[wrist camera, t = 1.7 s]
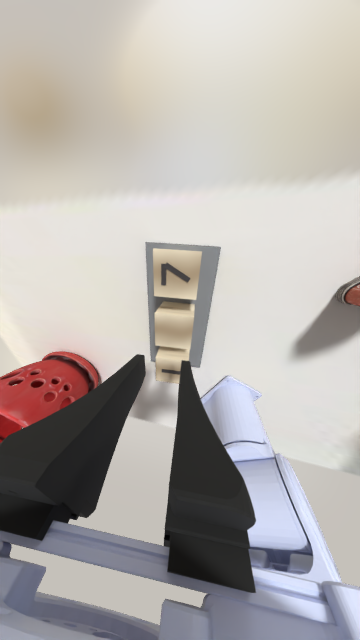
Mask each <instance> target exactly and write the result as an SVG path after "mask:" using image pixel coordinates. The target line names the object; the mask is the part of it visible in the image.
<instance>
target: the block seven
mask: <svg viewBox="0 0 360 640" xmlns="http://www.w3.org/2000/svg"><path fill="white" fill-rule="evenodd" d="M201 256H202V251H187V250H172V249H157V248H153V273H154V296H159V297H169V298H180V299H191V300H196V298H197V289H198V281H199V273H200V265H201Z"/></svg>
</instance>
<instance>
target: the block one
mask: <svg viewBox="0 0 360 640" xmlns="http://www.w3.org/2000/svg"><path fill="white" fill-rule="evenodd" d="M189 351H190V350H189V349H181V348H172V347H164V346H160V348H159V350H158V353H157V355H156V381H163V382H170V383H177V384H179V380H180V369H181V362H182V360H185V361H189Z"/></svg>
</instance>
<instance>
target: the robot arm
mask: <svg viewBox="0 0 360 640" xmlns="http://www.w3.org/2000/svg"><path fill="white" fill-rule="evenodd" d="M145 374H146V372H145V358H144V355H138V354H137V355H136V356H134V357H133V358H132V359H131V360H130V361H129V362H128V363H127V364H125V365H124V366H123V367H122V368H121V369H119V370H118V371H117V372H116V373H115V374H113V375H112V376H111V377H110V378H108V379H107V380H106V381H104V382H103V383H102V384H100V385H99V386H98V387H96V388H95V389H93V390H92V391H90V392H89V393H87V394H86V395H84V396H82V397H81V398H79V399H78V400H76V401H74V402H73V403H71V404H69V405H68V406H66V407H64V408H62V409H60V410H59V411H57V412H55V413H53V414H51V415H49V416H47V417H45V418H43V419H41V420H39V421H37V422H35V423H33V424H31V425H29V426H27V427H25V428H23V429H21V430H19V431H17V432H15V433H12V434H10V435H8V436H7V437H6V438H5V439H4V440H3V441H2V442H1V443H0V640H360V587H358V586H353V585H349V584H344V583H342V581H341V577H340V574H339V572H338V569H337V567H336V564H335V562H334V560H333V557H332V555H331V553H330V551H329V549H328V547H327V544H326V541H325V538H324V536H323V533H322V531H321V529H320V526H319V524H318V521H317V519H316V517H315V515H314V513H313V510H312V508H311V506H310V504H309V502H308V499H307V497H306V495H305V493H304V491H303V489H302V487H301V484H300V482H299V480H298V478H297V476H296V474H295V472H294V470H293V468H292V466H291V464H290V463H289V461H288V460H287V459H286V458H285V457H283V456H282V455H281V454H280V453H278V454H275V452H274V451H273V449H272V446H271V444H270V441H269V439H268V436H267V434H266V431H265V429H264V426H263V424H262V421H261V418H260V416H259V413H258V411H257V408H256V406H255V403H254V401H255V400H257V399H258V398H260V397H261V396H262V395H261V393H260V392H258V391H256V390H254V389H252V388H251V387H249V386H247V385H245V384H243V383H242V382H240V381H238V380H236V379H234V378H232V377H231V376H227V377H225V378H224V379H223V380H222V381H221V382H220V383H219V384H217V385H216V386H215V387H214V388H213V389H212V390H210V391H209V392H208V393H207V394H206V395H205V396H204V397H202V398H201V399H200V396H199V394H198V391H197V388H196V385H195V382H194V378H193V374H192V370H191V362H190V361H185V360H182V362H181V369H180V380H179V392H178V416H177V425H176V433H175V442H174V450H173V458H172V466H171V474H170V482H169V494H168V505H167V514H166V523H165V537H164V546H161V545H157V544H152V543H148V542H144V541H140V540H135V539H131V538H127V537H122V536H118V535H114V534H110V533H106V532H101V531H97V530H92V529H88V528H84V527H80V526H76V525H71V524H68V522H69V519H73V520H77V519H78V517H79V516H80V517H85V518H87V517H89V515H91V514H92V513H93V512H94V510H95V509H96V506H97V502H98V499H99V496H100V493H101V490H102V487H103V483H104V480H105V477H106V474H107V471H108V468H109V465H110V462H111V459H112V456H113V453H114V451H115V448H116V445H117V442H118V439H119V436H120V433H121V431H122V428H123V426H124V423H125V420H126V418H127V416H128V414H129V411H130V409H131V407H132V405H133V403H134V401H135V399H136V396H137V394H138V392H139V390H140V388H141V386H142V383H143V380H144V377H145ZM10 543H11V544H15V545H19V546H23V547H26V548H31V549H34V550H39V551H42V552H47V553H50V554H54V555H58V556H62V557H66V558H70V559H74V560H78V561H82V562H86V563H90V564H93V565H98V566H101V567H106V568H109V569H113V570H117V571H121V572H125V573H129V574H133V575H136V576H141V577H144V578H149V579H153V580H156V581H160V582H164V583H168V584H172V585H176V586H180V587H184V588H188V589H191V590H195V591H200V592H203V593H207V595H206V596H205V597H204V599H203V604H202V606H201V608H199V607H196V606H193V605H189V604H185V603H181V602H177V601H173V600H168V599H165V600H164V602H163V604H162V611H161V622H160V625H157V624H154V623H151V622H148V621H145V620H142V619H138V618H136V617H133V616H129V615H126V614H123V613H120V612H116V611H113V610H109V609H106V608H102V607H98V606H94V605H90V604H86V603H82V602H78V601H74V600H70V599H66V598H61V597H57V596H53V595H49V594H45V593H40V592H36V591H37V588H38V586H39V584H40V582H41V580H42V578H43V576H44V574H45V572H46V567H44V566H40V565H37V564H34V563H29V562H26V561H21V560H17V559H12V558H10V556H9V555H10V551H11V544H10Z"/></svg>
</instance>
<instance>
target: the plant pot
mask: <svg viewBox="0 0 360 640" xmlns="http://www.w3.org/2000/svg"><path fill="white" fill-rule="evenodd" d="M15 384H17V385H15ZM12 385H14V386H12ZM97 386H98V376H97V373H96V371H95V369H94V368H93V366H92V365H91V364H90V363H89V362H88V361H87V360H85V359H84V358H82V357H80V356H78V355H76V354H73V353H69V352H53V353H50V354H48V355H46V356H45V357H44V358H43V359H42V361H40V362H36V363H32V364H29V365H27V366H24V367H21V368H19V369H17V370H14V371H12V372H10V373H8V374H6V375H4V376H2V377H0V443H1V442H2V441H3V440H4V439H5V438H6V437H7V436H8V435H10V434H12V433H15V432H17V431H19V430H21V429H22V427H23V428H25V427H27V426H29V425H31V424H33V423H35V422H37V421H39V420H41V419H43V418H45V417H47V416H49V415H51V414H53V413H55V412H57V411H59V410H60V409H62V408H64V407H66V406H68V405H69V404H71V403H73V402H74V401H76V400H78V399H79V398H81V397H82V396H84V395H86V394H87V393H89V392H90V391H92V390H93V389H95V388H96V387H97Z"/></svg>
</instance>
